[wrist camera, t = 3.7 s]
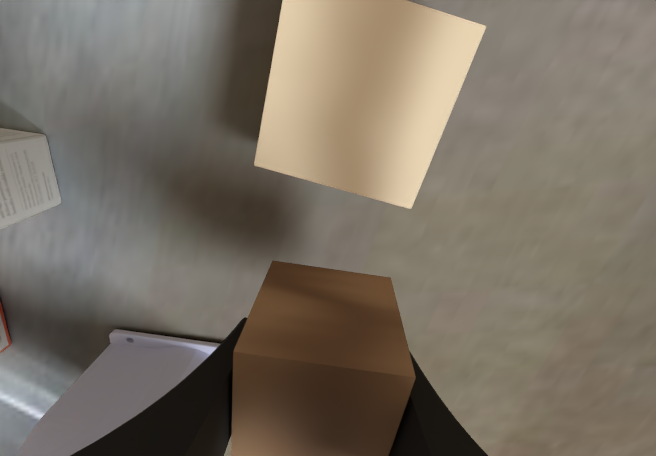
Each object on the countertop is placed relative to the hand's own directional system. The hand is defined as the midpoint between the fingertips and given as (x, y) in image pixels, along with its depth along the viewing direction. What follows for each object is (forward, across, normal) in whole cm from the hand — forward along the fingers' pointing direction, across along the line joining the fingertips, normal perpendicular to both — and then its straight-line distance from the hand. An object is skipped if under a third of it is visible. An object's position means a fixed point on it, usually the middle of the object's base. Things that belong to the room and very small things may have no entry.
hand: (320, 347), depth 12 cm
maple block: (+7, 0, -9) cm, 12 cm away
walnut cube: (+2, 0, 0) cm, 2 cm away
